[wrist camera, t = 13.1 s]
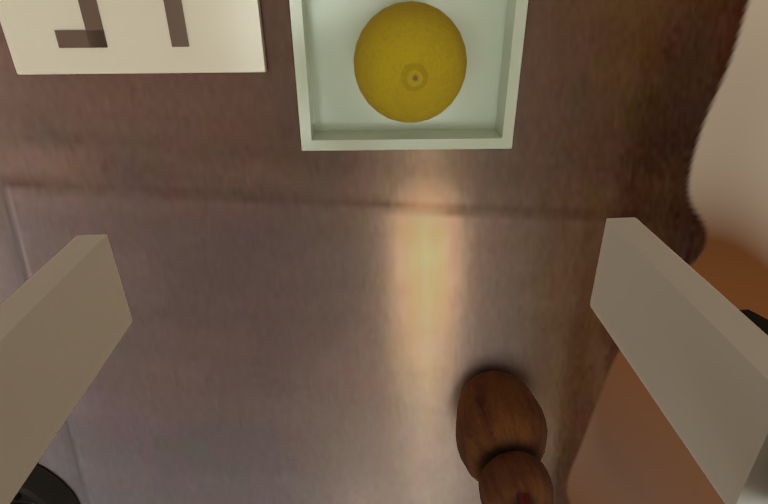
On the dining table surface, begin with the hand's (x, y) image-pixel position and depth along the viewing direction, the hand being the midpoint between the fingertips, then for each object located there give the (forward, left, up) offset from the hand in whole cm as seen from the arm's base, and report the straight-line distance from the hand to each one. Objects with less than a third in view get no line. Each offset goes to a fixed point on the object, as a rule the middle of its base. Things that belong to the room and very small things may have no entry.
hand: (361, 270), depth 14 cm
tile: (-13, +5, -20) cm, 24 cm away
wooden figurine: (+9, -23, -20) cm, 31 cm away
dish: (+2, +3, -20) cm, 20 cm away
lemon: (+2, +3, -19) cm, 19 cm away
